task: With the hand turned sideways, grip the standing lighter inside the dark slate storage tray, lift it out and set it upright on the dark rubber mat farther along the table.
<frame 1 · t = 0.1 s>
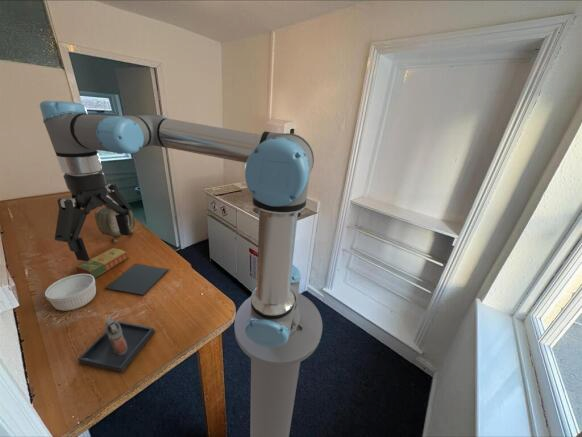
hand: (106, 246, 65), 31 cm above the table, tool pointing down, fingers open, 13 cm apart
tray: (119, 346, 71), on the table
tabletop clock: (119, 237, 125), on the table
mat: (139, 279, 98), on the table
carton: (104, 266, 103), on the table
ramekin: (77, 300, 86), on the table
lighter: (119, 345, 71), resting on tray
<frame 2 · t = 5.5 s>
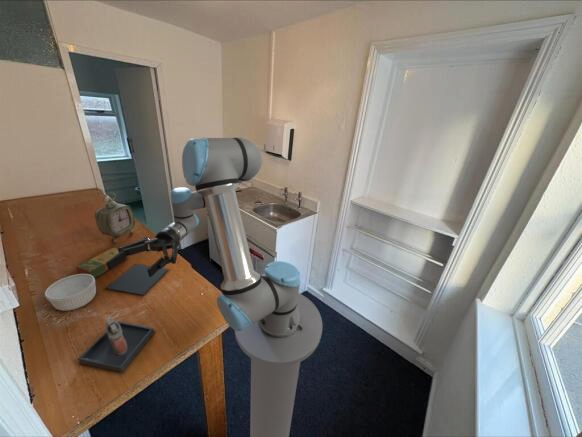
hand: (128, 269, 70), 22 cm above the table, tool horizontal, fingers open, 13 cm apart
nothing on the table moved.
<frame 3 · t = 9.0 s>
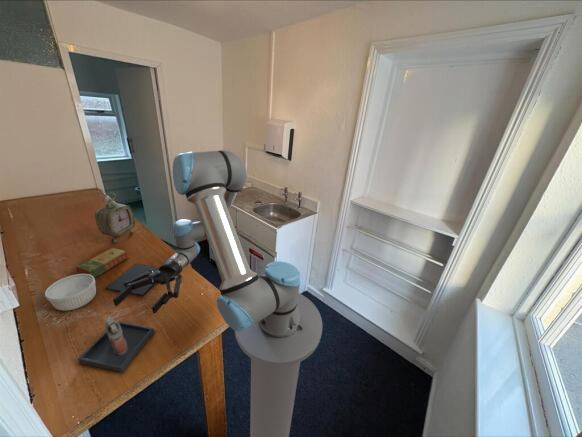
hand: (133, 306, 75), 8 cm above the table, tool horizontal, fingers open, 13 cm apart
nothing on the table moved.
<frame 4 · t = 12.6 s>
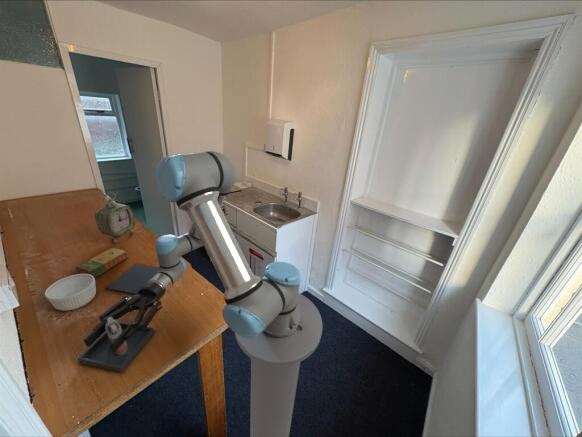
hand: (99, 346, 64), 7 cm above the table, tool horizontal, fingers closed on lighter, 7 cm apart
lighter: (119, 345, 71), resting on tray, touching gripper
everything else where it was.
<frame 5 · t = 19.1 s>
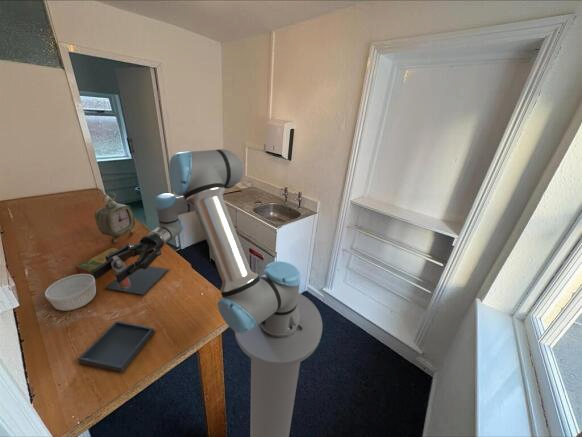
hand: (106, 277, 72), 18 cm above the table, tool horizontal, fingers closed on lighter, 7 cm apart
lighter: (123, 283, 79), point 11 cm above the table, touching gripper
everything else where it was.
when the fingers open (7 cm above the table, at t = 25.4 s): lighter stays where it is, resting on mat.
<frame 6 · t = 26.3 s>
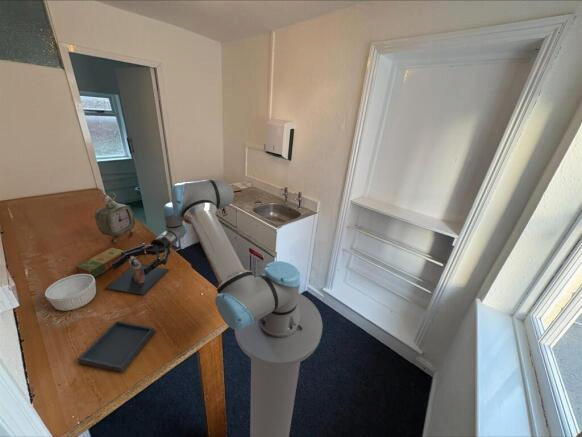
hand: (129, 269, 92), 8 cm above the table, tool horizontal, fingers open, 13 cm apart
lighter: (138, 278, 98), resting on mat
everything else where it was.
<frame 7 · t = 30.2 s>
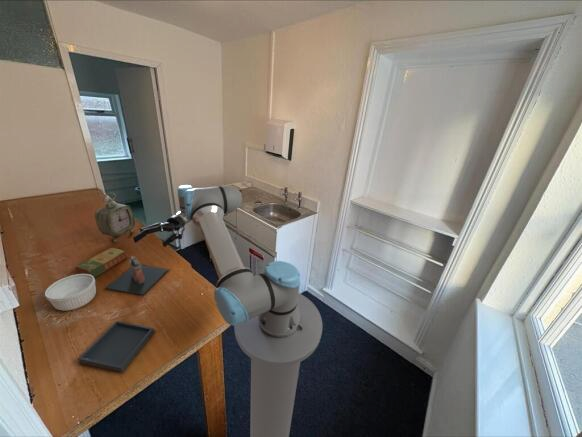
hand: (148, 242, 100), 13 cm above the table, tool horizontal, fingers open, 13 cm apart
nothing on the table moved.
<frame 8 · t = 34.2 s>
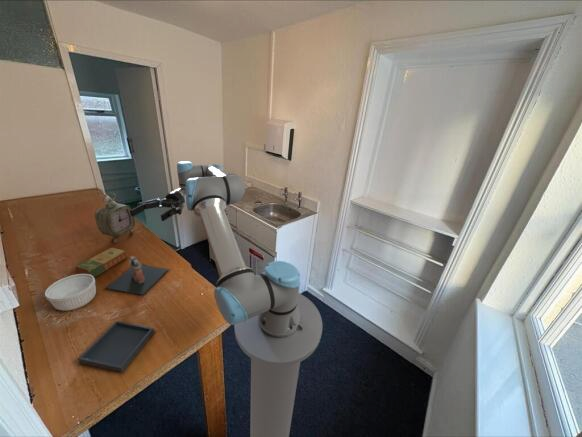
hand: (146, 215, 94), 26 cm above the table, tool horizontal, fingers open, 13 cm apart
nothing on the table moved.
at the end: lighter inside the target area on the mat (0.0 cm from its centre), point 0.3 cm above the mat's base; lighter tilted 0°; the gripper is holding nothing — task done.
